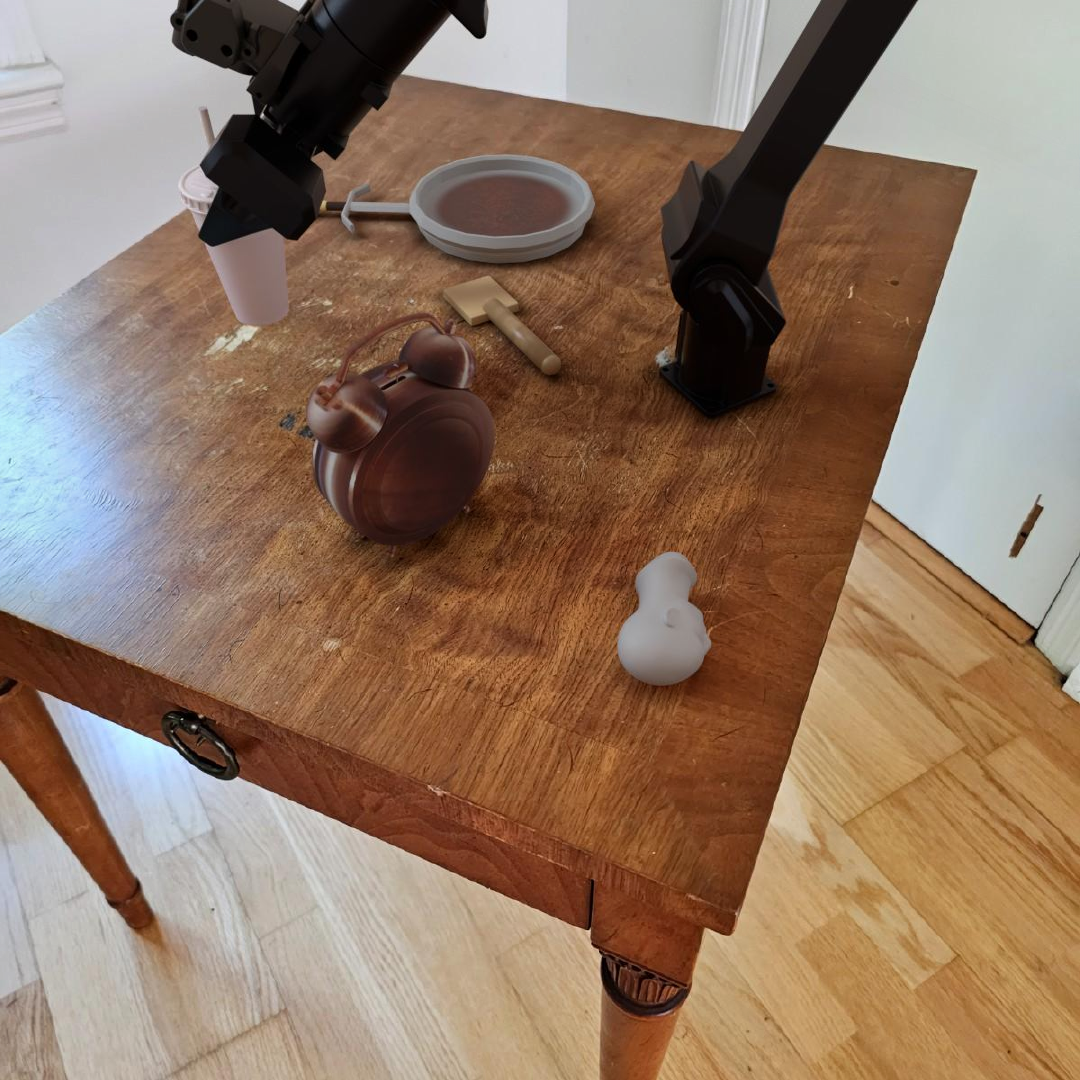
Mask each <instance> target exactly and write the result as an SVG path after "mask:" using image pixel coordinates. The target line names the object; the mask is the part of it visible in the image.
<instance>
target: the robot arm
mask: <svg viewBox="0 0 1080 1080" xmlns="http://www.w3.org/2000/svg"><path fill="white" fill-rule="evenodd" d="M918 1H919V0H820V1H819V3H818V4H817V6H816V8H815V10H814V11H813V13H812V14H811V16H810V17H809V19H808V21H807V23H806V24H805V26H804V28H803V30H802V31H801V33H800V35H799V36H798V38H797V40H796V41H795V44H794V45H793V46H792V48H791V50H790V52H789V53H788V55H787V57H786V58H785V60H784V62H783V64H782V65H781V67H780V69H779V70H778V72H777V74H776V76H775V77H774V79H773V80H772V82H771V84H770V85H769V87H768V89H767V91H766V92H765V94H764V95H763V98H762V99H761V101H760V102H759V104H758V106H757V108H756V109H755V110H754V113H753V114H752V116H751V118H750V120H749V121H748V123H747V124H746V126H745V128H744V129H743V131H742V133H741V135H740V136H739V138H738V140H737V142H736V143H735V145H734V146H733V147H732V149H730V152H729V153H727V154H726V155H725V156H724V157H723V158H721V159H720V160H719V161H717V162H716V163H714V164H713V165H712V166H710V167H709V168H708V169H707V168H705V167H704V166H702V165H701V164H699V163H698V162H696V161H695V160H689V162H688V163H687V165H686V168H685V169H684V171H683V174H682V178H681V180H680V183H679V185H678V187H677V189H676V191H675V192H674V194H673V195H672V196H671V198H670V199H669V200H668V201H667V202H666V203H664V204H663V205H661V207H660V214H661V220H662V224H663V225H662V227H661V234H660V235H661V236H660V237H661V245H662V249H663V256H664V261H665V265H666V270H667V276H668V281H669V287H670V290H671V293H672V296H673V299H674V301H675V302H676V303H677V304H678V305H679V307H680V308H681V309H682V310H681V311H680V313H679V319H678V329H677V333H676V334H677V335H676V342H675V349H674V359H675V361H672V362H670V363H667V364H664V365H662V366H660V367H659V369H658V376H659V377H660V378H661V379H662V380H664V382H666V383H667V384H668V385H669V386H671V388H672V389H674V390H675V391H676V392H677V393H678V394H679V395H681V397H683V398H684V399H685V400H686V401H688V403H690V404H691V405H692V406H693V407H694V408H696V409H697V411H699V413H701V414H702V415H704V417H706V418H707V419H714V418H716V417H717V418H718V417H720V416H723V415H725V414H727V413H730V412H732V411H735V410H737V409H739V408H741V407H744V406H747V405H749V404H752V403H754V402H756V401H760V400H761V399H764V398H766V397H769V396H771V395H775V393H777V389H778V384H777V383H776V382H775V381H774V380H772V379H771V378H769V377H768V376H767V375H766V370H767V366H768V362H769V358H770V357H769V356H770V352H771V347H772V346H773V345H774V343H775V342H776V340H777V339H778V337H779V336H780V334H781V332H782V331H783V329H784V328H785V326H786V324H787V320H786V317H785V313H784V310H783V307H782V305H781V301H780V299H779V295H778V293H777V290H776V287H775V284H774V281H773V277H772V275H771V272H770V269H769V265H770V262H771V260H772V258H773V256H774V254H775V251H776V247H777V243H778V239H779V235H780V231H781V227H782V224H783V220H784V216H785V213H786V209H787V205H788V202H789V199H790V197H791V195H792V193H793V192H794V191H795V189H796V187H797V185H798V184H799V182H800V181H801V180H802V178H803V176H804V175H805V174H806V172H807V170H808V169H809V167H810V166H811V164H812V163H813V161H814V160H815V158H816V157H817V155H818V154H819V152H820V151H821V149H822V148H823V146H824V144H825V143H826V141H827V140H828V139H829V137H830V135H831V134H832V132H833V130H835V128H836V126H837V125H838V123H839V121H840V120H841V119H842V117H843V116H844V114H845V112H846V111H847V110H848V108H849V107H850V105H851V103H852V102H853V101H854V99H855V97H856V96H857V94H858V93H859V91H860V90H861V88H862V87H863V85H864V84H865V82H867V81H866V80H868V77H869V76H870V74H871V73H872V71H873V70H874V68H875V67H876V65H877V64H878V62H879V61H880V60H881V57H882V56H883V55H884V53H885V52H886V50H887V49H888V47H889V46H890V44H891V43H892V41H893V39H894V38H895V37H896V35H897V34H898V32H899V30H900V29H901V28H902V26H903V24H904V23H905V21H906V20H907V18H908V17H909V15H910V14H911V12H912V10H913V9H914V8H915V7H916V5H917V3H918ZM451 16H453V17H454V18H455V20H456V21H458V22H459V23H460V25H462V26H463V28H464V29H466V31H468V32H469V33H470V35H472V37H474V38H475V39H477V40H482V39H484V38H485V37H486V35H487V33H488V31H487V30H488V23H489V20H488V19H489V6H488V0H305V2H304V3H303V4H302V6H301V7H300V8H299V9H298V10H297V9H296V8H294V7H292V6H290V5H288V4H287V3H285V2H283V1H280V0H177V6H176V9H175V10H173V12H172V13H171V15H170V17H169V22H170V25H171V27H172V28H173V29H172V36H171V43H172V45H173V46H174V48H176V49H177V50H178V51H180V52H182V53H184V54H186V55H188V56H190V57H197V58H199V59H201V60H203V61H205V62H207V63H210V64H212V65H215V66H217V67H219V68H222V69H225V70H227V69H228V70H231V71H233V72H235V73H238V74H240V75H243V76H248V77H250V79H249V82H248V86H247V87H246V90H245V91H246V92H247V93H248V94H250V96H251V102H252V107H253V112H254V113H251V114H250V113H245V114H244V113H243V114H242V113H233V114H232V115H231V116H230V117H229V119H228V120H227V121H226V123H225V124H224V125H223V127H222V128H221V129H220V130H219V133H218V134H217V135H216V136H215V140H214V141H213V143H212V144H211V146H210V148H209V149H208V148H207V151H206V153H205V154H204V156H203V158H202V160H201V161H200V163H199V164H200V167H201V169H202V171H203V172H204V174H205V176H206V177H207V178H208V179H209V180H211V181H212V182H213V183H214V184H216V185H217V186H218V187H219V188H218V190H217V192H216V195H215V197H214V199H213V201H212V204H211V206H210V208H209V210H208V213H207V215H206V217H205V220H204V222H203V224H202V226H201V229H200V231H199V230H198V234H197V238H198V239H199V240H201V242H203V243H204V242H205V243H206V244H207V245H209V246H211V247H215V246H218V245H221V244H224V243H227V242H230V241H233V240H236V239H239V238H242V237H245V236H248V235H251V234H254V233H257V232H260V231H263V230H267V229H271V228H273V229H274V230H275V231H277V232H278V233H279V234H280V235H282V236H283V239H286V241H287V240H288V241H295V242H297V241H299V239H300V238H301V237H302V236H303V235H304V234H305V233H306V232H307V230H308V229H310V228H311V226H312V225H313V224H314V222H316V220H317V218H318V216H319V213H320V211H321V210H320V207H321V205H322V202H323V201H324V199H325V197H326V193H327V188H326V181H325V175H324V170H323V168H322V167H320V166H319V165H318V164H316V162H315V161H313V160H312V159H313V158H314V157H316V156H318V155H319V154H321V153H325V154H326V155H327V156H329V158H331V159H332V160H333V161H337V160H338V158H340V156H341V155H342V154H343V152H344V151H345V150H346V147H347V145H348V142H349V139H350V137H351V136H350V135H351V133H352V132H354V130H355V129H356V128H357V126H359V124H360V123H361V122H362V121H363V120H364V119H365V117H366V116H367V115H368V113H370V111H371V110H372V109H375V111H376V112H378V111H380V109H382V107H383V105H384V104H385V103H386V102H387V101H388V100H389V98H390V95H391V91H392V88H393V84H394V83H395V82H396V81H397V80H398V78H399V77H400V76H401V74H402V73H403V72H404V71H405V70H406V69H407V67H408V66H409V65H410V64H411V63H412V62H413V60H415V58H416V57H417V56H418V55H419V54H420V52H422V50H423V48H425V46H426V45H427V44H428V43H429V42H430V41H431V39H432V38H433V37H434V36H435V35H436V33H437V32H438V31H439V30H440V28H442V27H443V25H444V24H445V23H446V22H447V20H448V19H449V18H450V17H451ZM205 243H204V244H205Z"/></svg>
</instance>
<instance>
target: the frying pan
mask: <svg viewBox="0 0 1080 1080" xmlns="http://www.w3.org/2000/svg"><path fill="white" fill-rule="evenodd" d="M371 190H372V189H371V184H370V182H369V181H368V182H366V183H364V184H362V185H360V186H358V187H356V188H354V189H352V190H351V191H350V192H349V193H348V196H347V199H346V201H332V200H331V201H330V200H329V201H327V200H323V202H322V205H321V207H320V210H319V211H321V212H327V211H328V212H341V214H340V217H341V223H342V224H343V225H345V227H346V229H348V230H349V232H350V233H351V234H353V235H354V234H355V232H356V229H355V225H354V223H353V222H352V221H351V220H350V219H349V216H350V213H381V214H383V213H385V214H387V213H389V214H410V215H411V217H412V218H413V220H414V221H415V222H416V224H417V226H418V228H419V231H420V232H421V234H422V235H423V236H424V237H425V239H426V240H427V241H428V243H429V244H431V245H432V246H434V247H436V248H437V249H439V250H440V251H442V252H443V253H445V254H448V255H451V256H455V257H458V258H461V259H465V260H467V261H475V262H480V263H490V264H511V263H525V262H529V261H534V260H538V259H543V258H548V257H551V256H552V255H554V254H556V253H559V252H561V251H563V250H565V249H567V248H570V247H571V245H573V244H574V243H575V242H576V241H577V240H578V239H579V238H580V237H581V236H582V235H583V232H584V229H585V226H586V224H587V223H588V222H589V220H590V219H591V218H592V216H593V212H594V210H595V206H596V202H595V201H596V200H595V199H594V195H593V192H592V190H591V187H590V185H589V183H588V182H587V181H586V180H585V179H584V178H583V177H582V176H580V175H579V174H578V173H577V171H575V170H573V169H572V168H569V167H566V166H565V165H562V164H560V163H558V162H556V161H553V160H549V159H544V158H540V157H536V156H530V155H520V154H510V153H509V154H508V153H503V154H482V155H477V156H472V157H467V158H460V159H457V160H454V161H452V162H449V163H445V164H443V165H441V166H437V167H436V168H434V169H433V170H432V171H429V173H427V174H425V175H424V176H423V177H421V178H420V179H419V181H418V183H417V184H416V186H415V187H414V188H413V190H412V192H411V194H410V197H409V203H408V202H377V201H376V202H375V201H374V202H373V201H355V200H356V199H358V198H360V197H362V196H364V195H365V194H368V193H370V192H371Z"/></svg>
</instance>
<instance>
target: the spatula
mask: <svg viewBox="0 0 1080 1080" xmlns="http://www.w3.org/2000/svg"><path fill="white" fill-rule="evenodd" d="M442 297H443V299H444V300H445V301H446V302H447V303H448V304H449V305H450V306H451V307H452V308H453V309H454V310H455V311H456V312H457V313H458V314H459V315H460V316H461V317H462V318H463V319H464V321H466V322H467V324H469V326H470V327H474V326H477V325H480V324H484V323H486V322H489V321H491V322H492V323H493V324H494V325H495V326H496V327H497V328H498V329H499V330H500V332H502V333H503V334H504V336H506V337H507V338H508V340H510V342H512V343H513V344H514V346H515V347H517V348H518V349H519V350H520V351H521V352H522V353H523V354H524V355H525V356H526V358H528V359H529V360H530V361H531V362H532V364H534V365H535V366H536V367H537V368H538V369H539V370H540V371H541V372H542V373H543V374H545V375H548V376H555V375H556V374H557V373H559V372H560V370H561V367H562V361H561V358H560V357H559V356H558V355H557V354H556V353H555V352H554V351H553V350H552V349H551V348H549V347H548V346H547V344H545V343H544V341H542V340H541V338H539V337H538V336H537V335H536V334H535V333H534V332H533V331H532V330H531V329H530V328H529V327H528V326H526V324H525V323H524V322H522V320H521V319H520V318H518V317H517V316H516V314H514V313H517V312H519V311H520V309H519V308H520V307H519V302H518V301H517V300H516V299H515V298H514V297H513V296H512V295H510V294H509V292H507V290H505V289H504V288H503V287H502V286H501V285H500V284H499V283H498V282H497V281H495V279H494V278H492V277H491V276H490V275H486V276H482V277H479V278H476V279H473V280H468V281H465V282H463V283H459V284H456V285H453V286H450V287H446V288H443V289H442Z"/></svg>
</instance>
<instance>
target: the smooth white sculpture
mask: <svg viewBox="0 0 1080 1080" xmlns="http://www.w3.org/2000/svg"><path fill="white" fill-rule="evenodd" d="M697 581H698V573H697V571H696V569H695V568H694V566H693V565H692V563H691V562H690V561H689V560H688V558H687V557H686V556H685V555H683V554H682V553H680V552H677V551H667V552H663V553H661V554H659V555H658V556H656V557H654V558H653V559H652V560H650V562H648V563H647V564H646V565H645V566H644V567H643V568H641V570H640V571H639V572H638V573H637V575H636V577H635V582H634V587H635V591H636V593H637V594H638V598H639V600H638V601H639V602H638V608H637V609H636V611H635V612H634V613H632V614H631V615H630V616H629V617H628V618H627V619H626V620H625V622H623V625H622V626H621V629H620V631H619V634H618V636H617V644H616V645H617V655H618V658H619V661H620V663H621V665H622V667H623V668H624V669H625V671H626V672H627V673H628V674H630V676H632V677H633V678H635V679H636V680H638V681H639V682H642V683H645V684H648V685H651V686H652V685H653V686H658V687H659V686H671V685H675V684H678V683H680V682H683V681H685V680H686V679H688V678H690V677H692V675H694V673H697V671H698V670H699V669H700V668H701V666H702V664H703V661H704V658H705V656H706V654H707V653H708V652H709V651H710V649H711V647H712V641H711V638H710V637H709V635H708V633H707V628H706V625H705V623H704V615H703V612H702V611H701V610H700V609H699V608H698V607H697V606H695V604H693V603H691V602H690V601H689V596H690V590H691V589H693V588H694V587H695V586H696V583H697Z"/></svg>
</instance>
